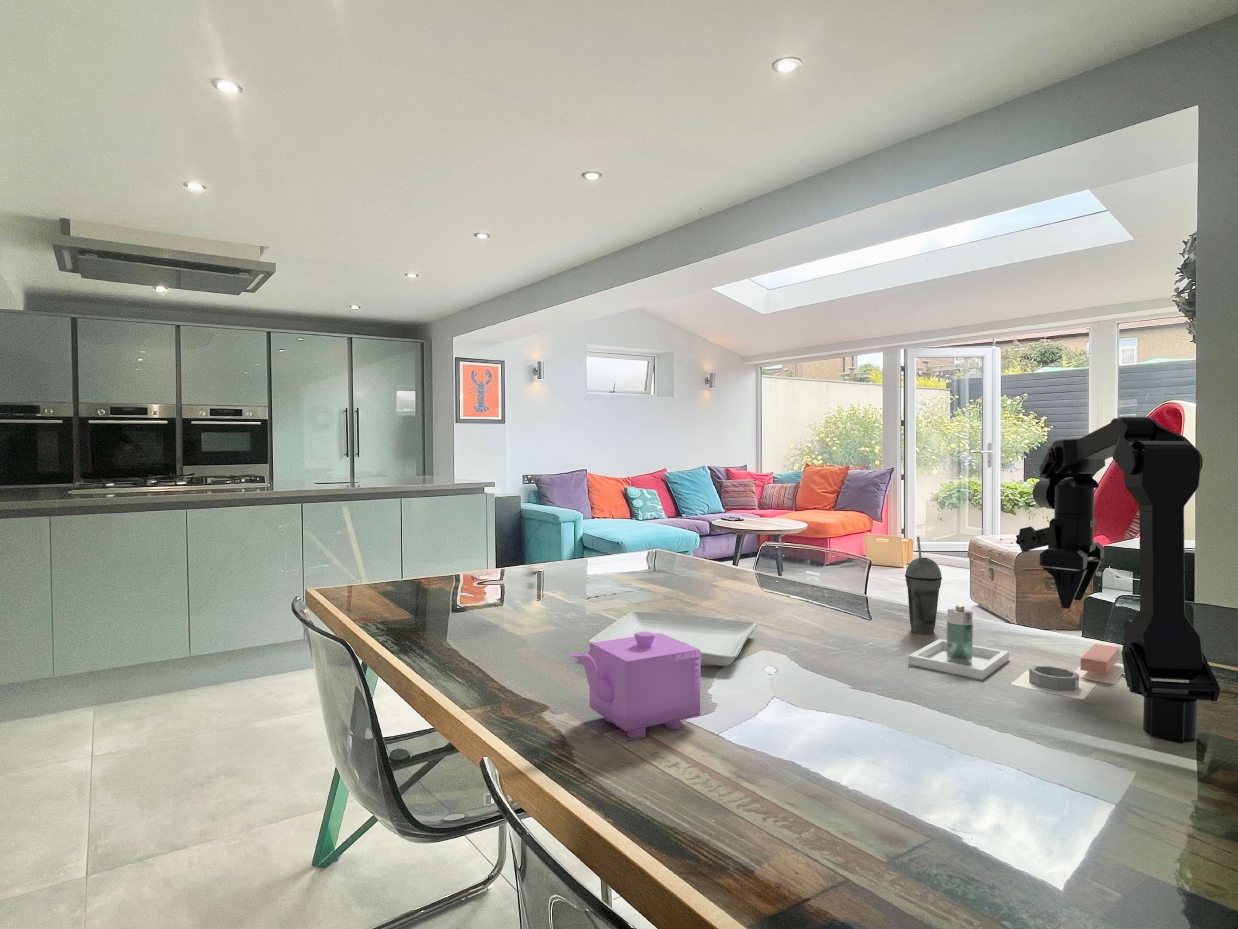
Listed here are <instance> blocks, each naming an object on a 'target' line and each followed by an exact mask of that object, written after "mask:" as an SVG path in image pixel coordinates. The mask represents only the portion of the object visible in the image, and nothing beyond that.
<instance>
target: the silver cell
mask: <svg viewBox="0 0 1238 929" xmlns="http://www.w3.org/2000/svg"><path fill="white" fill-rule="evenodd" d="M973 613H974V612H973V611H972V610H969V609H965V606H963V605H955V608H947V615H946V616H947V620H946V640H947V662H952V663H957V664H962V665H971V664H972V645H974V644H973V638H974V637H973V635H974V634H973V633H974V632H973V630H974V624H973V622H974V621H973V618H974V617H973V616H974V615H973Z"/></svg>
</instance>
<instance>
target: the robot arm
mask: <svg viewBox="0 0 1238 929" xmlns="http://www.w3.org/2000/svg"><path fill="white" fill-rule="evenodd" d="M1110 458H1112V459H1113V460H1114V462H1115V463H1116V464H1117V466H1118V467H1119V469H1120V470H1121V471H1122V473H1123V477H1124V478H1123V479H1124V480H1123V481H1124V487H1125V488H1126V490H1127V491H1128V492H1129V494H1130V495H1131V496H1132V498H1133V499H1134V500H1135V502H1136V503H1137V504H1138V508H1139V510H1138V511H1139V514H1138V515H1139V518H1138V520H1139V527H1138V528H1139V611H1138V612H1137V613H1136V615H1135V616H1134V618H1133V619H1126V620H1125V621H1124V623H1123V627H1122V628H1123V644H1122V650H1121V657H1122V664H1123V665H1124V671H1123V673H1124V678H1125V682H1126V686H1127V688H1129V690H1128V691H1129V692H1130V693H1132V694H1136V695H1140V696H1142V697H1143V715H1142V716H1143V717H1142V730H1143V731H1144V732H1145V733H1147V734H1149V735H1150V737H1151V738H1155V739H1159V740H1164V741H1167V742H1168V741H1169V742H1172V743H1177V744H1182V745H1183V744H1184V743H1193V742H1196V741H1197V740H1198V710H1199V705H1198V704H1199V701H1211V702H1217V701H1218V698H1219V695H1220V692H1221V687H1220V684H1219V683H1218V680H1217V679H1216V677H1215V675H1214V672H1213V670H1212V669H1211V667H1210V664H1209V662H1208V660H1207V658H1206V655H1205V654H1204V652H1203V647H1202V646H1203V645H1202V640H1201V636H1200V634H1199V633H1198V631H1197V630H1196V628H1195V627H1194V625H1193V624H1192V622H1191V621H1190V620H1189V618H1188V617H1187V616H1186V581H1185V580H1186V579H1185V577H1186V576H1185V574H1186V573H1185V568H1186V567H1185V565H1186V564H1185V563H1186V562H1185V506H1186V505H1187V503H1189V500H1190V499H1191V498H1192V497H1193V495H1194V494H1195V493H1196V491H1197V490H1198V488H1199V487H1200V478H1201V471H1202V468H1203V463H1204V462H1203V456H1202V453H1200V451H1199V450H1198V449H1197V448H1196V446H1194V445H1193V444H1192V443H1191V441H1190V440H1189V439H1187V438H1186V436H1184V435H1183V434H1180V433H1178V432H1175V431H1173V430H1171V429H1169V428H1166V427H1164V426H1163V425H1161V424H1160V423H1159V422H1158V421H1157V420H1156V419H1154V418H1152V417H1149V416H1118V417H1116V418H1112V420H1111V421H1110V423H1107V424H1106V425H1104V426H1101V427H1100V428H1097V429H1096V430H1094V431H1092V432H1090V433H1088V434H1086V435H1084V436H1081V437H1079V438H1078V437H1077V438H1063V439H1056V440H1055V441H1053V443H1051V446H1049V448H1048V450H1047V452H1046V454H1045V457H1044V458H1043V460H1042V462H1041V464H1040V466H1039V478H1041V479H1040V480H1038V481H1037V482H1036V483H1035V484H1034V486H1033V489H1032V491H1031V492H1032V493H1031V494H1032V498H1033V500H1034V502H1035V503H1036V504H1037V505H1038V506H1040V507H1042V508H1044V509H1050V510H1053V511H1054V512H1053V513H1054V515H1053V516H1054V517H1053V518H1051V519H1050V520H1049V522H1048V524H1049V526H1047V527H1043V528H1038V529H1035V528H1033V527H1032V526H1026V527H1023V528H1020V529H1019V531H1018V532H1019V533H1018V534H1017V535H1015V537H1016V540H1015V544H1017V545H1019V548H1020V551H1021V553H1026V552H1027V553H1028V552H1030V551H1031V550H1035V549H1038V548H1039V549H1040V548H1043V547H1047V548H1046V549H1044V550H1043V551H1042V552H1040V554H1039V566H1041V568H1042V570H1044V571H1046V572H1047V573H1048V574H1049V575H1050V576H1051V577H1052V578H1053V580H1054V583H1055V588H1056V591H1057V594H1058V598H1059V601H1060V602H1059V603H1060V606H1061V608H1062V609H1067V610H1069V609H1070V608H1071V607H1072V604H1073V602H1074V601H1080V602H1081V601H1082V600H1083V598H1084V596H1085V594H1086V592H1087V590H1088V588H1089V587H1090V585H1091V582H1092V580H1093V579H1094V577H1095V575H1096V573H1097V571H1098V569H1099V567H1100V566H1101V564H1102V560H1103V559H1104V558H1105V547H1104V546H1103V545H1102V544H1100V542H1099V541H1094V527H1095V526H1097V518H1096V519H1095V518H1094V517H1095V489H1098V488H1099V486H1100V485H1099V483H1098V481H1097V480H1096V479H1094V476H1095V475H1096V474H1097V473H1098V472H1100V471H1101V470H1102V469H1103V468H1104V467H1106V460H1107V459H1110ZM1093 558H1096V559H1093ZM1152 679H1156V680H1152ZM1157 679H1158V680H1157ZM1161 680H1165V681H1161ZM1166 680H1176V681H1166ZM1177 680H1178V681H1177ZM1180 680H1181V681H1183V682H1181V681H1180ZM1179 681H1180V682H1179ZM1184 681H1188V682H1184Z"/></svg>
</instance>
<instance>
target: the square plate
mask: <svg viewBox="0 0 1238 929" xmlns="http://www.w3.org/2000/svg"><path fill="white" fill-rule="evenodd" d="M757 627H758V623H757V622H756V621H747V620H739V619H738V620H737V619H731V618H723V617H722V618H721V617H713V616H704V615H696V614H687V613H686V614H684V613H672V612H671V613H670V612H656V611H655V612H652V611H651V612H650V611H638V610H637V611H635V610H634V611H630V612H628V613H627V614H624V616H621V617H620V618H619V619H617V620H616V621H614V622H613V623H611V624H610V625H608V626H607V627H606V628H604V629H603V630H600V632H598V633H597V634H596V635H595V636H593V637H592V638H590V639H589V640H588V641H587V642H588V643H589V645H590V644H591V643H594V642H601V641H607V640H614V639H621V638H628V637H635V636H634V634H635V633H637V632H651V633H654V634H656V633H661V634H664V635H666V636H669V637H671V638H674V639H676V640H678V641H681V642H685V643H687V644H689V645H690V646H693V647H695V648H697V649H700V651H701V666H702V667H703V666H704V667H706V666H707V667H708V666H709V667H711V666H713V667H714V666H719V667H722V666H723V667H725V666H728V665H731V664H732V663H733V661H735V659H736V658H737V657H738V656H739V654H740V653H741V650H742V649H743V646H744V644H745V643H746V642H747V640H748V639H749V638H750V637H751V635H752V634H753V633H754V632H755V631H754V630H755V629H757ZM701 666H700V667H701Z"/></svg>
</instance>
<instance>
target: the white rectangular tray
mask: <svg viewBox="0 0 1238 929" xmlns="http://www.w3.org/2000/svg"><path fill="white" fill-rule="evenodd" d="M1009 655H1010V652H1009V651H1007V650H1001V649H996V648H991V647H984V646H980V645H974V644H973V645H972V664H971V665H962V664H957V663H952V662H947V639H942V638H938V639H937V640H935V641H933V642H931V643H930V644H927V645H925V646H924V647H921V648H920V649H918V650H916V651H914V652H912V653H910V654H909V655H908V660H907V661H908V664H907V665H908V666H907V668H908V670H909V669H911V668H913V667H919V668H923V669H929V670H933V671H939V672H943V673H948V674H954V675H958V676H963V677H965V678H966V677H967V678H973V679H977V680H984V679H986V678H987V677H989V676H990V675H991V674H992V673H993V672H995V671H996V670H997V669H999V668H1000V667H1002V666H1003V665H1005V664H1006V663H1007V662H1008V661H1010V660H1009V659H1010V658H1009V657H1010V656H1009Z"/></svg>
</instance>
